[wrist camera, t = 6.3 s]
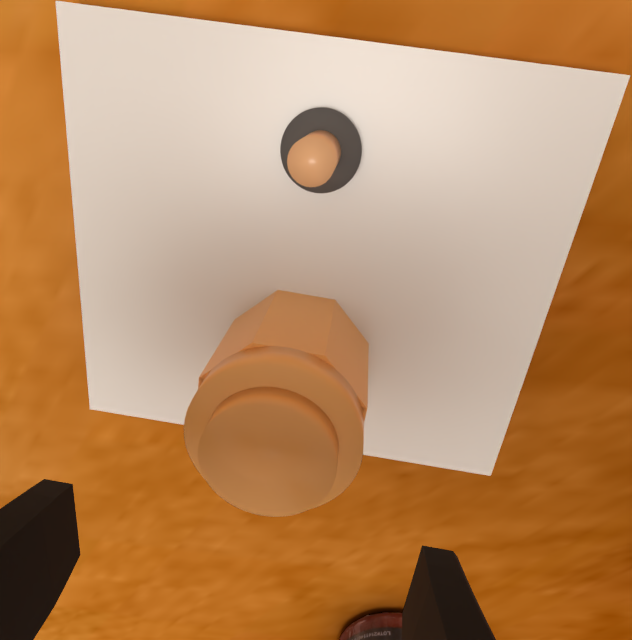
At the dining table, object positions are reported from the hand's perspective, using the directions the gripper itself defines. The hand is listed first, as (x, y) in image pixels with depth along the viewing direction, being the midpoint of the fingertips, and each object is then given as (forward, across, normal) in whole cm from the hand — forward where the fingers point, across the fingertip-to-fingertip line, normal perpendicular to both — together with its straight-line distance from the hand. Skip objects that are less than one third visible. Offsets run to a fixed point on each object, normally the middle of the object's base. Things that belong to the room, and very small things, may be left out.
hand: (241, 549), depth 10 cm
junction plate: (+10, 0, -3) cm, 10 cm away
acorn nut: (+8, 0, 0) cm, 9 cm away
